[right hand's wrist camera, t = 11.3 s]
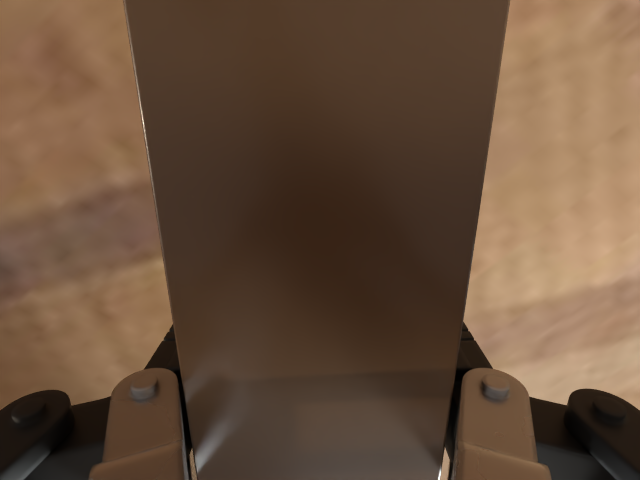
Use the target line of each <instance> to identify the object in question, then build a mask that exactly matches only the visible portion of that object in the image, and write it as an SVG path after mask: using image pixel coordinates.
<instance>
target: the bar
mask: <svg viewBox="0 0 640 480" xmlns="http://www.w3.org/2000/svg"><path fill="white" fill-rule="evenodd" d="M123 3H124V9H125V15H126V22H127V28H128V35H129V41H130V48H131V54H132V61H133V67H134V74H135V80H136V87H137V93H138V100H139V106H140V112H141V119H142V125H143V132H144V138H145V145H146V151H147V158H148V164H149V171H150V177H151V184H152V190H153V197H154V203H155V209H156V216H157V222H158V229H159V235H160V242H161V248H162V255H163V261H164V268H165V274H166V281H167V287H168V294H169V300H170V306H171V313H172V319H173V326H174V332H175V339H176V345H177V352H178V358H179V365H180V371H181V378H182V384H183V391H184V397H185V403H186V410H187V416H188V423H189V429H190V436H191V442H192V449H193V455H194V462H195V468H196V475H197V480H440V475H441V468H442V462H443V455H444V448H445V441H446V434H447V427H448V421H449V414H450V407H451V400H452V393H453V387H454V380H455V373H456V366H457V359H458V352H459V346H460V339H461V332H462V325H463V318H464V312H465V305H466V298H467V291H468V284H469V278H470V271H471V264H472V257H473V250H474V243H475V237H476V230H477V223H478V216H479V209H480V203H481V196H482V189H483V182H484V175H485V168H486V162H487V155H488V148H489V141H490V134H491V128H492V121H493V114H494V107H495V100H496V93H497V87H498V80H499V73H500V66H501V59H502V53H503V46H504V39H505V32H506V25H507V18H508V12H509V5H510V0H123Z"/></svg>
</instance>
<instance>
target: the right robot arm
mask: <svg viewBox="0 0 640 480" xmlns="http://www.w3.org/2000/svg"><path fill="white" fill-rule="evenodd" d="M445 448H446V451H447V453H448V456H449V459H450V461H449V468H448V477H447V480H640V411H639V410H638V409H637V408H636V407H634V406H633V405H631V404H630V403H628V402H627V401H625V400H623V399H621V398H619V397H617V396H615V395H613V394H610V393H607V392H604V391H600V390H595V389H579V390H576V391H574V392H572V393H571V395H570V397H569V400H568V403H567V405H562V404H558V403H553V402H549V401H544V400H540V399H536V398H532V397H529V395H528V392H527V390H526V388H525V387H524V386H523V385H522V384H521V383H520V382H519V381H518V380H517V379H515V378H514V377H512V376H511V375H509V374H507V373H504V372H502V371H499V370H495V369H493V368H492V366H491V365H490V363H489V361H488V360H487V358H486V357H485V355H484V354H483V352H482V350H481V349H480V347H479V346H478V344H477V342H476V341H474V338H473V336H472V335H471V333H470V331H468V328H467V327H466V325H465V323H464V322H463V325H462V332H461V339H460V346H459V352H458V359H457V366H456V373H455V380H454V387H453V393H452V400H451V407H450V414H449V421H448V427H447V434H446V441H445ZM191 449H192V442H191V436H190V429H189V423H188V416H187V410H186V403H185V397H184V391H183V384H182V378H181V371H180V365H179V358H178V352H177V345H176V339H175V332H174V326H173V325H172V327H171V328H170V330H169V332H168V333H167V334H166V336H165V338H164V341H162V342H161V344H160V345H159V347H158V348H157V350H156V352H155V353H154V355H153V356H152V358H151V359H150V361H149V362H148V364H147V366H146V367H145V369H144V370H141V371H138V372H136V373H133V374H131V375H129V376H128V377H126V378H125V379H123V380H122V381H121V382H120V383H119V384H118V385H117V386H116V387H115V388H114V390H113V392H112V395H111V396H110V397H107V398H104V399H100V400H96V401H91V402H87V403H82V404H78V405H74V406H71V403H70V399H69V397H68V395H67V394H66V393H64V392H62V391H59V390H45V391H39V392H35V393H32V394H29V395H26V396H24V397H22V398H20V399H18V400H16V401H14V402H12V403H10V404H9V405H7V406H6V407H5V408H3V409H2V410H1V411H0V480H193V477H192V467H191V461H190V452H191Z"/></svg>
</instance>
